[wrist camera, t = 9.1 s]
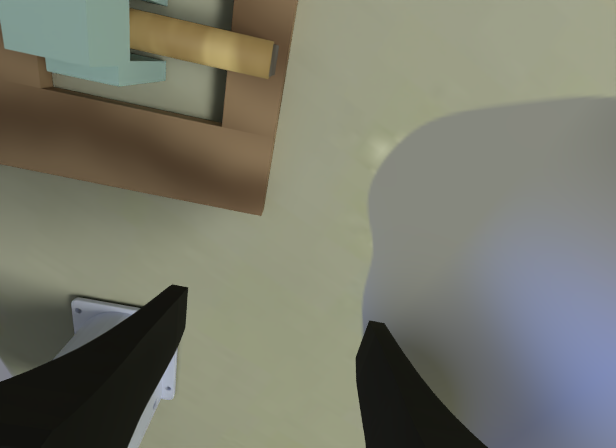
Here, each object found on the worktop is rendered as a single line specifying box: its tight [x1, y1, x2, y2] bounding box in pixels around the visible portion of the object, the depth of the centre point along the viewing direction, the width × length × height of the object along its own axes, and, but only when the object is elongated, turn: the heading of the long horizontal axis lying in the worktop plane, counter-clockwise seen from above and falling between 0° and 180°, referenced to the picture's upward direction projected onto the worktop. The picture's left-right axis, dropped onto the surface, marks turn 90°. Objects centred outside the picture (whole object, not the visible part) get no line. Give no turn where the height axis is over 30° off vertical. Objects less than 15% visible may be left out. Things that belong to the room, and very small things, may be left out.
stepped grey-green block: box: [0, 0, 168, 87], centre depth 15 cm, size 5×3×7 cm, turn 168°
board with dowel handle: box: [0, 0, 298, 216], centre depth 16 cm, size 18×18×4 cm
